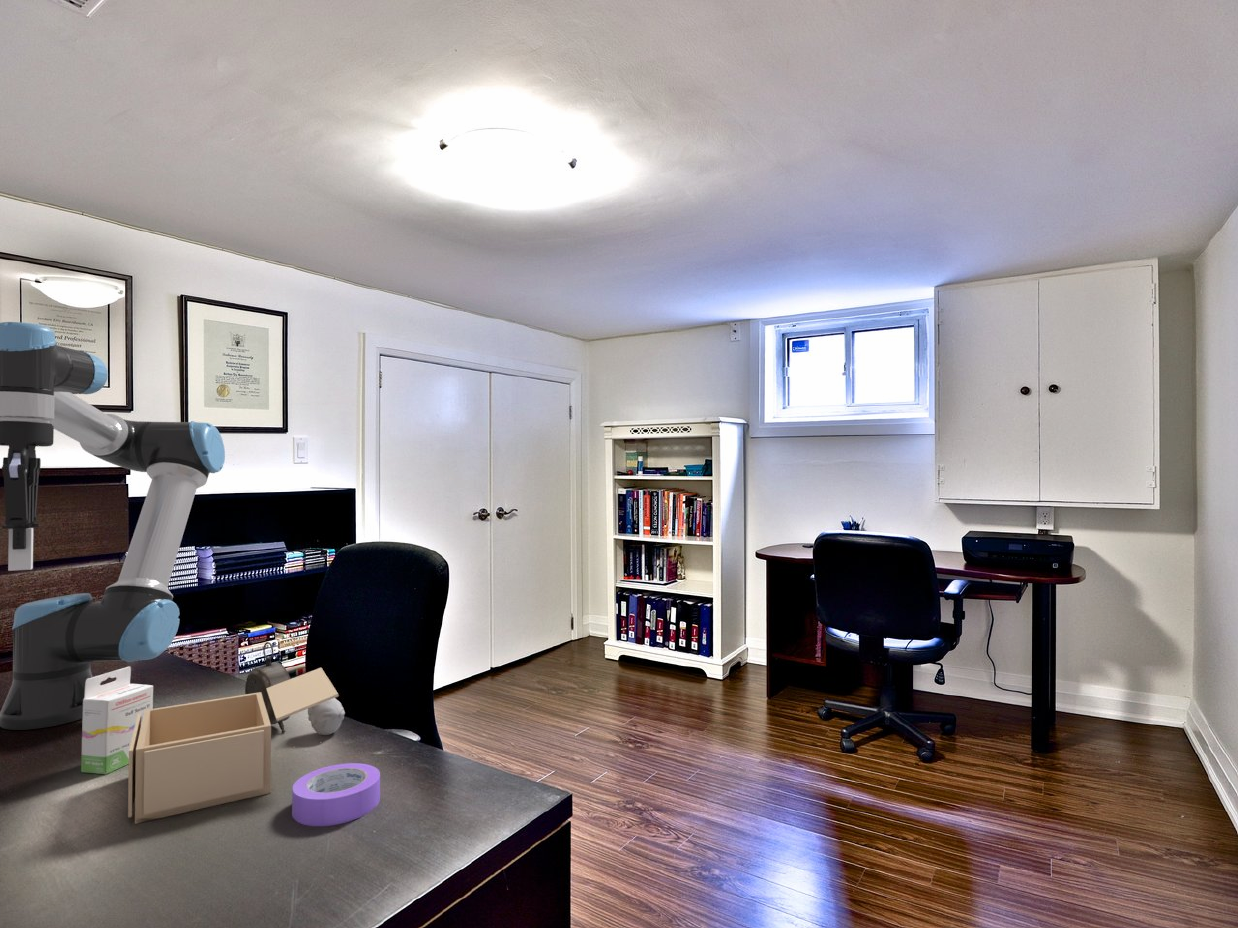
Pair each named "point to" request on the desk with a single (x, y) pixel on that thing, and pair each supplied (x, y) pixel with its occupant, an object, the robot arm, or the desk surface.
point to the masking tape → (335, 794)
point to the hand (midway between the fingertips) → (20, 569)
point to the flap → (300, 693)
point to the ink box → (111, 720)
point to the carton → (199, 756)
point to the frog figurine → (326, 716)
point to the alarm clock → (267, 683)
